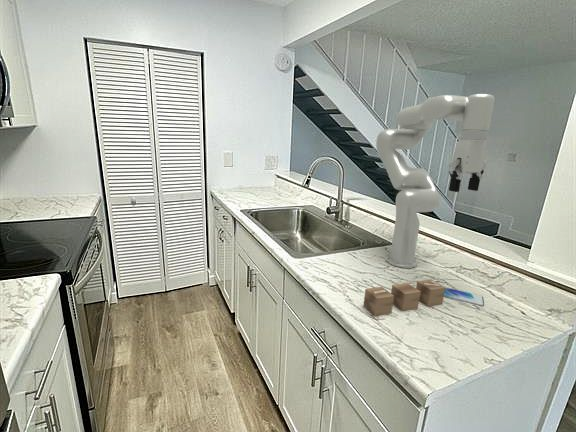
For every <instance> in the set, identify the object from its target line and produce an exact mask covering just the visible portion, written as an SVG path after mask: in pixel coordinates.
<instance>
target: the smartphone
mask: <svg viewBox="0 0 576 432" xmlns="http://www.w3.org/2000/svg"><path fill="white" fill-rule="evenodd" d="M444 287H445V293H444V298H445V299H451V300H454V301H460V302H462V303H463V302H464V303H468V304H472V305H474V306H479V307H485V302H484V301H485V300H484V296H483V295H479V294H476V293H471V292H467V291H462V290H458V289H454V288H450V287H446V286H444Z"/></svg>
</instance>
